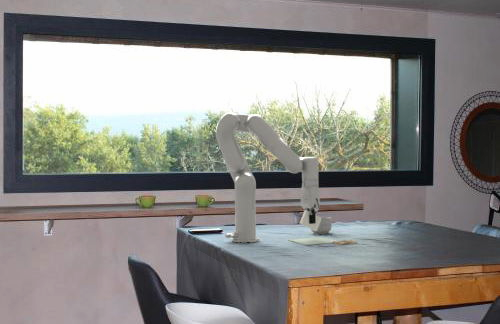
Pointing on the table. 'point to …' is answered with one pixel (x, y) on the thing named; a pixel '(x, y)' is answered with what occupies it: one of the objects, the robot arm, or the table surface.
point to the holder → (344, 242)
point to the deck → (305, 221)
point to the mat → (312, 241)
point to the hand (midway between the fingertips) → (311, 222)
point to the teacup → (324, 226)
